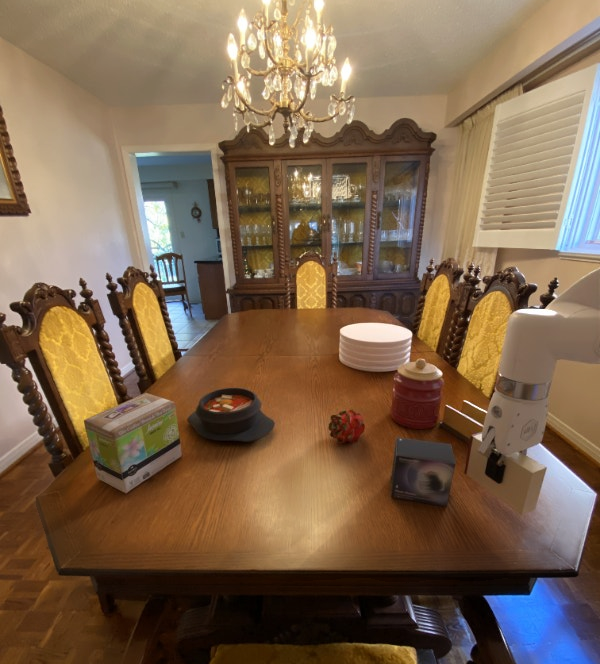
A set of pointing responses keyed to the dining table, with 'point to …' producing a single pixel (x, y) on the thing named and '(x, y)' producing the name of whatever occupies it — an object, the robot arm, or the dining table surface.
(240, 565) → the dining table surface
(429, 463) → the small box
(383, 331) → the plate stack
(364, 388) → the dining table surface
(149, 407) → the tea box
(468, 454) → the book
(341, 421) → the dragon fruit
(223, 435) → the casserole
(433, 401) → the kitchen canister
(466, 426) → the rack
